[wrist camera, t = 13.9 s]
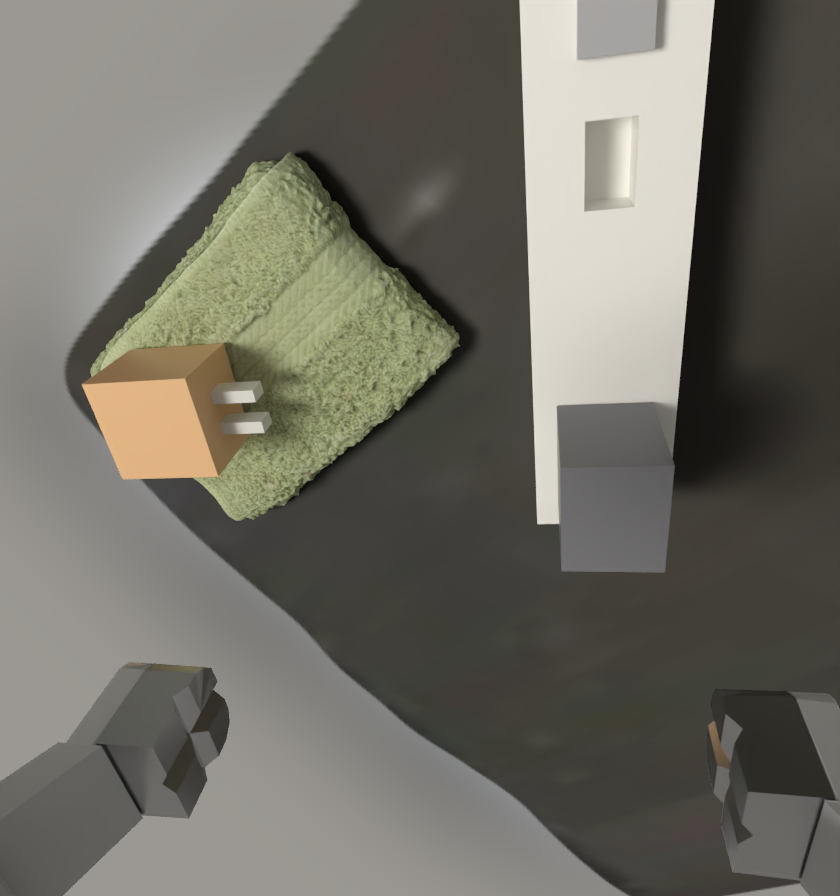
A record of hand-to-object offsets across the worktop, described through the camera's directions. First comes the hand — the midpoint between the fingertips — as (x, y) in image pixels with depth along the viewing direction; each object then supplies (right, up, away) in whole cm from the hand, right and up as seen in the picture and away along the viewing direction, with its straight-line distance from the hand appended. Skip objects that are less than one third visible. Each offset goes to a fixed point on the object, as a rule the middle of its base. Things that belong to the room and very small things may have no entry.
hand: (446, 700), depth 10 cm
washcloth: (-8, +9, +24) cm, 27 cm away
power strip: (+8, +12, +18) cm, 23 cm away
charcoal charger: (+8, +5, +20) cm, 22 cm away
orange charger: (-8, +6, +19) cm, 22 cm away
